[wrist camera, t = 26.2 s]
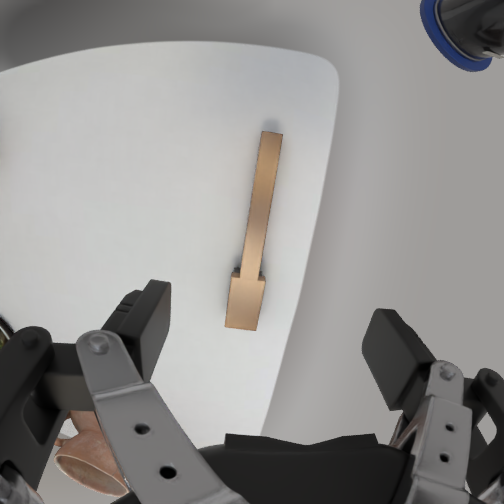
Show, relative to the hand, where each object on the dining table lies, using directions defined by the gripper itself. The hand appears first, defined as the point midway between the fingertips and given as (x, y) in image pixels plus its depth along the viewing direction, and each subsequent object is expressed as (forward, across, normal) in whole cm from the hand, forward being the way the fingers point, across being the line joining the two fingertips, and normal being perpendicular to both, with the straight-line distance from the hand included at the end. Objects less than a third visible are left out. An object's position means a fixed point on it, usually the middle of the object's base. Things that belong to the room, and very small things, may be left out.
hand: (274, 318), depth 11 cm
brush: (+20, 0, +2) cm, 20 cm away
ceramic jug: (+20, +19, +37) cm, 46 cm away
